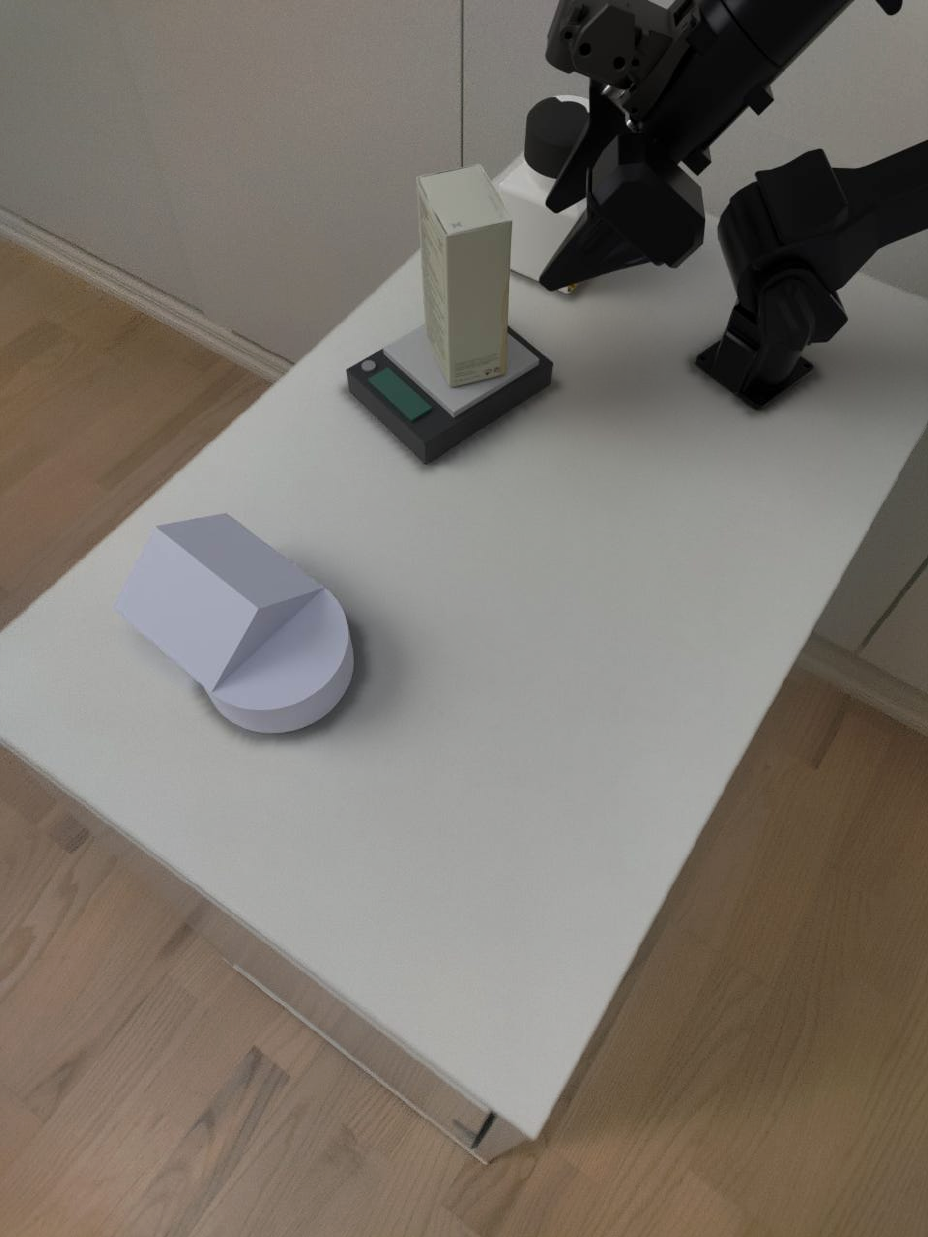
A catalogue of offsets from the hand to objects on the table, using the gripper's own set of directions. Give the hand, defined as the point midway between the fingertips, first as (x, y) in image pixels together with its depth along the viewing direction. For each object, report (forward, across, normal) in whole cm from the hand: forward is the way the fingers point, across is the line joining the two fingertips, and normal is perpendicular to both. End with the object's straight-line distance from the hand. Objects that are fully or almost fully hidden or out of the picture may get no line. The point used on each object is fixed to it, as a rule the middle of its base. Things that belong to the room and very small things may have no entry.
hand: (547, 244), depth 55 cm
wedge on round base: (+21, +23, -4) cm, 31 cm away
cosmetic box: (+10, 0, +1) cm, 10 cm away
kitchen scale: (+13, 0, +2) cm, 13 cm away
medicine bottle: (+7, -16, +6) cm, 18 cm away
